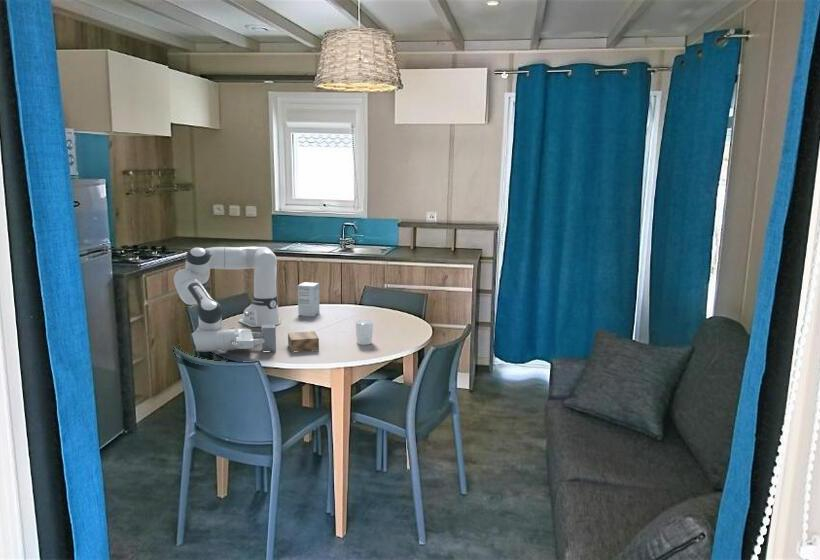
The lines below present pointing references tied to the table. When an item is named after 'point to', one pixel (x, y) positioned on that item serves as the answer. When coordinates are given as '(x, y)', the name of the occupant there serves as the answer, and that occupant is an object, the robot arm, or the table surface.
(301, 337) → the walnut block
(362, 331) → the white cup
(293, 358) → the table surface
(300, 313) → the supplement box
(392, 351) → the table surface
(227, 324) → the table surface
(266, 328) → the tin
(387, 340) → the table surface
